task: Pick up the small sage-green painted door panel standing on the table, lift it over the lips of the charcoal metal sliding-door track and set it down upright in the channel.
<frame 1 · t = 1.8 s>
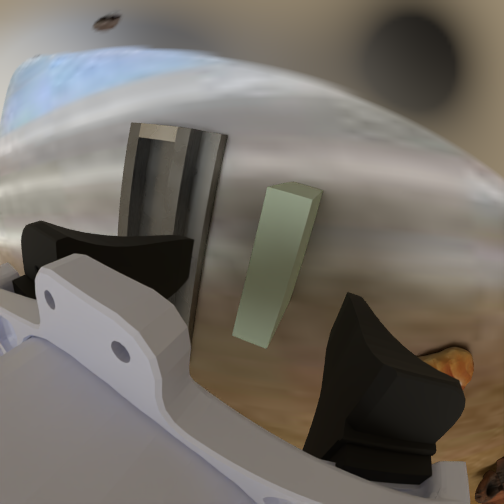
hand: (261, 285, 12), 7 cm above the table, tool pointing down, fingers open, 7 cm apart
brown openwork sculpture: (497, 466, 17), on the table
door panel: (292, 244, 18), on the table
pastry: (413, 380, 18), on the table
door track: (160, 252, 22), on the table
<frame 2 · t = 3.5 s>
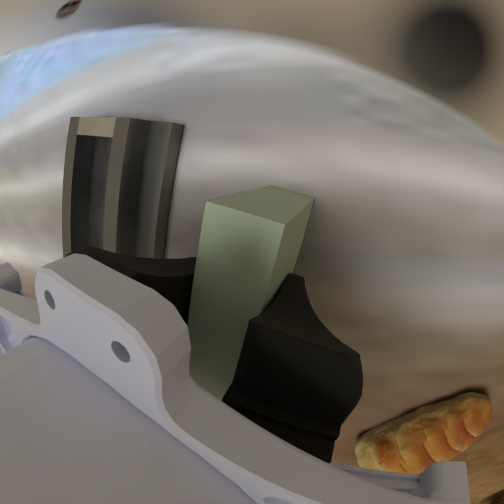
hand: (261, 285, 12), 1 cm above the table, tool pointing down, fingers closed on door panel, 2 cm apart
door panel: (270, 273, 13), on the table, touching gripper
pastry: (417, 427, 13), on the table
door track: (114, 275, 17), on the table
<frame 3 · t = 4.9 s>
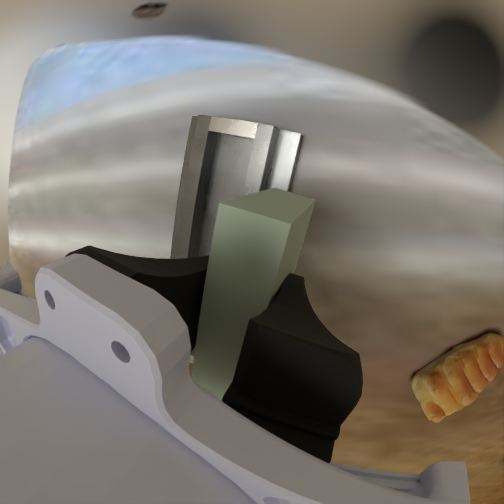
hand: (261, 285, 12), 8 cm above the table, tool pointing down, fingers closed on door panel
door panel: (274, 271, 14), point 6 cm above the table, touching gripper
pastry: (453, 367, 18), on the table
door track: (221, 254, 22), on the table
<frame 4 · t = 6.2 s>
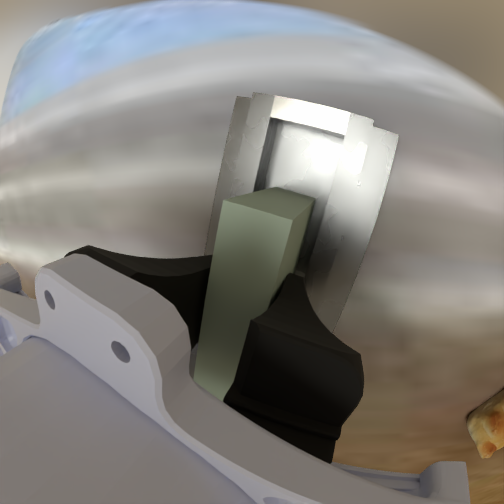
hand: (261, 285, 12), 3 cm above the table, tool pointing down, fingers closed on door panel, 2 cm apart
door panel: (275, 268, 14), point 1 cm above the table, touching door track, gripper
door track: (271, 292, 16), on the table
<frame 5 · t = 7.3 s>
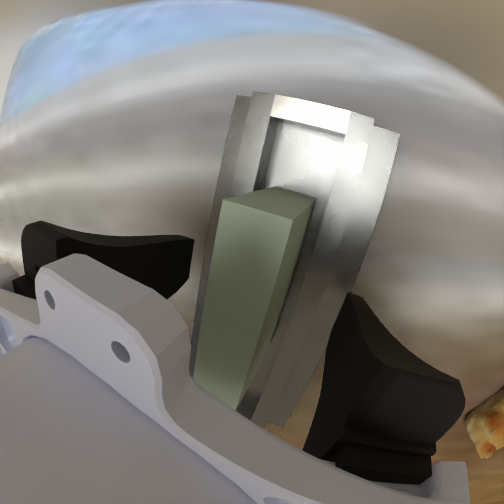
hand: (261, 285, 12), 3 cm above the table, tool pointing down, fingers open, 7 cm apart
door panel: (275, 268, 14), point 1 cm above the table, touching door track
door track: (271, 292, 16), on the table
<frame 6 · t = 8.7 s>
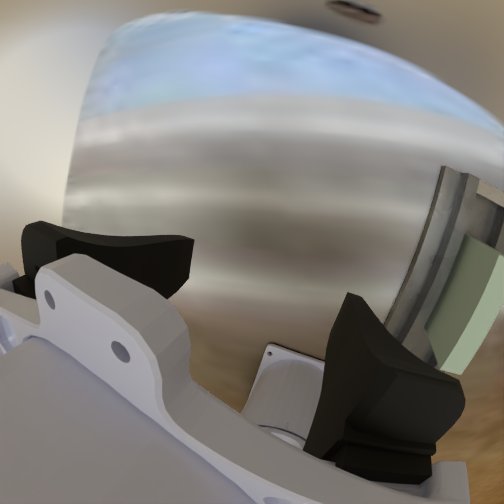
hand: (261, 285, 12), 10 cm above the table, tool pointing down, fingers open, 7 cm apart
door panel: (453, 284, 17), point 1 cm above the table, touching door track
door track: (440, 300, 19), on the table
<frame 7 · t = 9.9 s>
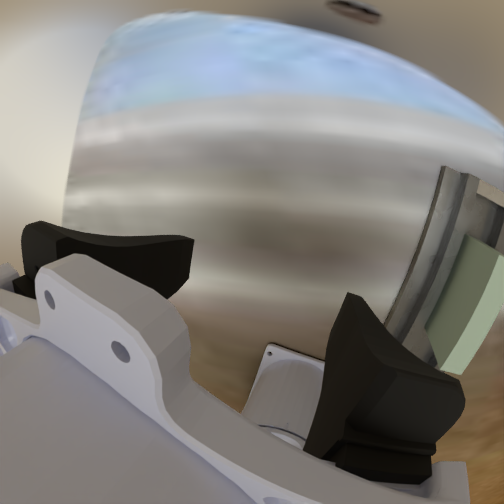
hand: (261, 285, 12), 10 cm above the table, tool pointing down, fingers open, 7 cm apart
door panel: (453, 284, 17), point 1 cm above the table, touching door track
door track: (440, 300, 19), on the table
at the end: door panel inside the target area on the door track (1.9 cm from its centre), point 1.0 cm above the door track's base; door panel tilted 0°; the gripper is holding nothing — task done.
